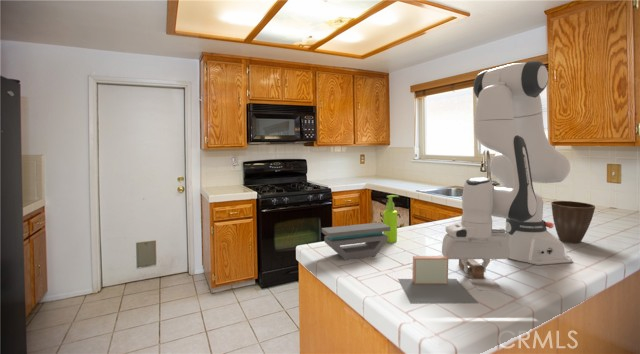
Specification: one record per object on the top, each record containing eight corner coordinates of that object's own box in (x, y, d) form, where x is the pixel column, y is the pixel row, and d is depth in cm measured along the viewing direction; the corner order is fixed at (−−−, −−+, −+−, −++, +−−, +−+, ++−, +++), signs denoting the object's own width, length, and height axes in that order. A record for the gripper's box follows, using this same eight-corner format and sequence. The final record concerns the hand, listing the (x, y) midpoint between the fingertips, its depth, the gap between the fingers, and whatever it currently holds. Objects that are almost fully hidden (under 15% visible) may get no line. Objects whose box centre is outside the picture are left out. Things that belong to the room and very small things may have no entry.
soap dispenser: (401, 241, 147) (402, 195, 144) (388, 243, 144) (388, 196, 142) (393, 237, 152) (394, 193, 150) (380, 239, 150) (380, 194, 147)
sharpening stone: (379, 248, 137) (379, 222, 136) (389, 254, 130) (390, 226, 129) (321, 256, 129) (321, 228, 128) (329, 262, 122) (328, 233, 121)
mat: (456, 280, 105) (456, 278, 105) (479, 305, 89) (479, 303, 89) (397, 280, 105) (397, 278, 105) (410, 305, 90) (410, 303, 89)
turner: (452, 266, 117) (452, 253, 117) (472, 265, 117) (473, 253, 117) (479, 293, 97) (480, 278, 96) (504, 292, 96) (505, 278, 96)
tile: (445, 281, 103) (446, 255, 102) (447, 284, 101) (448, 258, 100) (412, 281, 103) (412, 256, 102) (414, 284, 101) (414, 258, 100)
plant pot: (599, 242, 141) (602, 205, 140) (581, 248, 134) (584, 208, 133) (560, 234, 155) (562, 199, 153) (541, 239, 148) (544, 203, 146)
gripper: (504, 226, 109) (502, 267, 111) (440, 227, 110) (439, 268, 111) (515, 231, 103) (513, 275, 104) (447, 232, 103) (446, 275, 105)
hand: (474, 271), depth 108 cm, fingers open, 3 cm apart
